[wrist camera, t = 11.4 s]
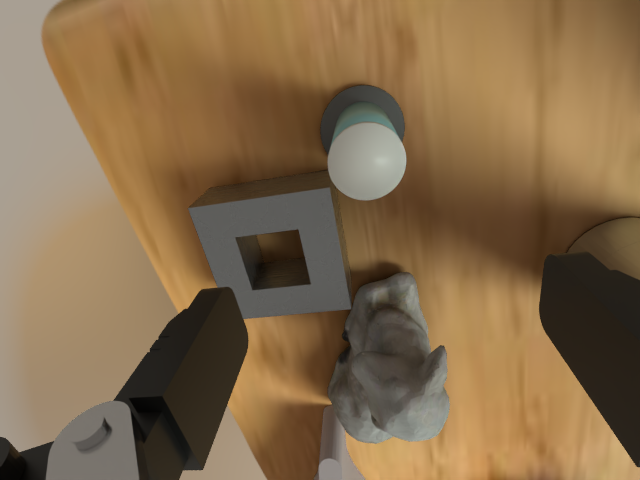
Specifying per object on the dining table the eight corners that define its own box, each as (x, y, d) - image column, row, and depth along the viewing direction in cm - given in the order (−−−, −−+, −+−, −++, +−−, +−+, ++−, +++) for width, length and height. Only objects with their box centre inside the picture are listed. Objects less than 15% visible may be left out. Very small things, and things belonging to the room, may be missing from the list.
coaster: (400, 77, 28) (401, 78, 28) (406, 163, 31) (407, 165, 31) (314, 93, 29) (313, 94, 29) (328, 175, 32) (328, 177, 32)
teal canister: (387, 96, 28) (403, 116, 19) (393, 153, 30) (409, 194, 22) (331, 107, 29) (321, 131, 20) (339, 161, 31) (334, 205, 22)
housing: (332, 169, 32) (329, 187, 28) (351, 279, 37) (351, 309, 33) (209, 188, 34) (187, 208, 30) (244, 290, 39) (230, 320, 35)
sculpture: (430, 265, 36) (474, 389, 23) (413, 404, 46) (438, 547, 32) (323, 264, 37) (306, 382, 24) (329, 400, 47) (319, 537, 33)
